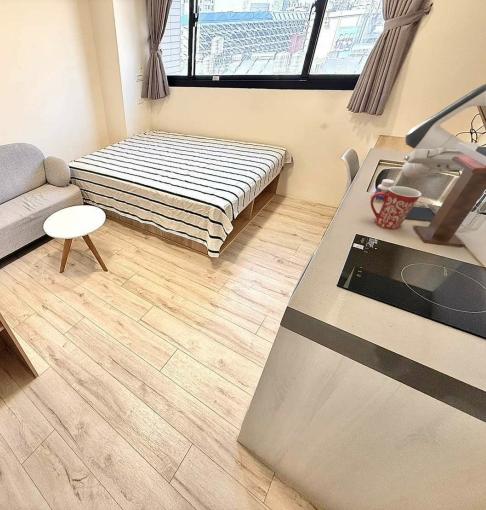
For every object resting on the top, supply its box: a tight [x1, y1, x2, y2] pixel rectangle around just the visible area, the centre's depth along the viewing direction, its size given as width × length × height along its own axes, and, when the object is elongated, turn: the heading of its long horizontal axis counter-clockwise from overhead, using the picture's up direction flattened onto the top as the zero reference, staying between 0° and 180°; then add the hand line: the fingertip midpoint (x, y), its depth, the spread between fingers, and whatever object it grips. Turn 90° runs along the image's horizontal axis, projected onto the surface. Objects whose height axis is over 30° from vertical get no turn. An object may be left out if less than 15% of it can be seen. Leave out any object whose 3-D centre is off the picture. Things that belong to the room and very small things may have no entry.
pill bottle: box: [373, 178, 395, 204], centre depth 117 cm, size 5×5×9 cm
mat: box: [404, 205, 436, 223], centre depth 109 cm, size 12×12×1 cm
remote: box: [455, 141, 486, 166], centre depth 83 cm, size 4×18×3 cm, turn 159°
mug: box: [370, 185, 422, 230], centre depth 101 cm, size 13×9×14 cm
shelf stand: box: [412, 155, 486, 248], centre depth 88 cm, size 10×12×26 cm
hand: (461, 151), depth 91 cm, fingers open, 8 cm apart
